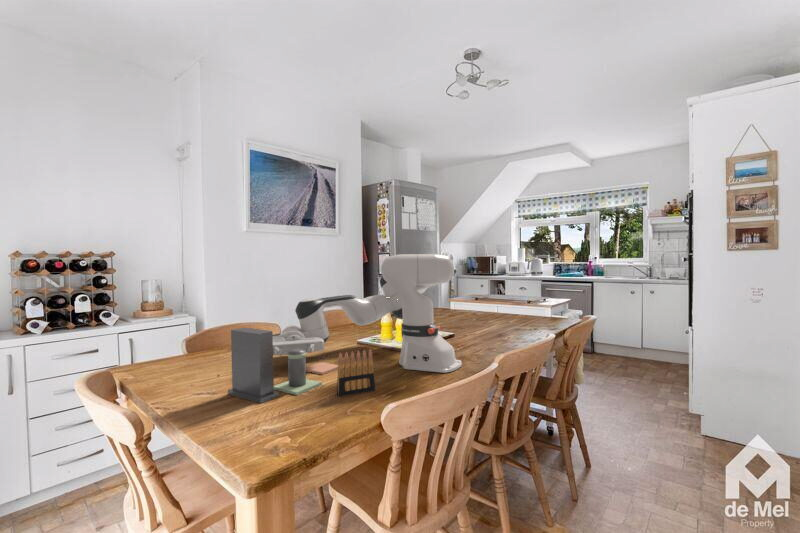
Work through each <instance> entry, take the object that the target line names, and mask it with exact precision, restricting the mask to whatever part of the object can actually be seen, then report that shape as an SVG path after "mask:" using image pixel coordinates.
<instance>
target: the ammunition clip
mask: <svg viewBox="0 0 800 533" xmlns="http://www.w3.org/2000/svg"><path fill="white" fill-rule="evenodd" d="M350 352H351V353H350V357H349V354H348V352H347V351H346V352H345V354H344V358H343V355H342V353H341V352H339V354H338V359H337V360H338V361H337V362H338V363H337V365H338V369H337V380H336V381H337V382H336V383H337V384H336V395H337V396H338V397H345V396H350V395H356V394H357V395H358V394H362V393H368V392H369V393H370V392H375V391H376V389H375V387H376V386H375V373H374V361H373V359H374V358H373V352H372V349H371V348H369V349H368V354H367V352H366V349H363V351H362V354H361V353H360V350H357V352H356V355H355V353H354V351H353V350H352V351H350ZM361 355H362V356H361ZM355 356H356V358H355ZM361 357H362V358H361ZM349 358H350V359H349ZM343 359H344V362H343ZM361 360H362V361H361ZM349 361H350V362H349Z"/></svg>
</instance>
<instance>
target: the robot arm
mask: <svg viewBox="0 0 800 533" xmlns="http://www.w3.org/2000/svg"><path fill="white" fill-rule="evenodd" d="M454 272H455V267H454V263H453V261H452V260H451V258H450V257H449V256H447V255H443V254H439V253H438V254H437V253H418V254H417V253H405V254H404V253H402V254H394V255H389V256H387V257H385V259H384V260H383V262H382V264H381V266H380V273H381V277H380V279H379V284H380V288H382V291H383V294H375V295H370V296H366V297H364V298H357V297H356V295H353V294H345V295H335V296H329V297H328V296H327V297H321V298H314V297H313V298H312V297H310V298H304V299H302V300H300V301H299V302H298V303H297V306H296V307H295V310H294V312H295V313H296V317H297V319H298V322H299V326H298V325H296V324H291V325H287V326H286V327H284V329H282V331H281V332H280V333H276V334H272V335H273V356H283V355H284V356H288V351H289V350H292V349H305V352H306V353H307V354H309V353H311V354H312V353H314V352H322V351H324V350H325V344H326V342H327V341H328V340H329V339H330V332H329V328H328V324H327V322H326V317H325V314H324V310H325V309H327V308H331V307H340V308H341V309H342V310H343V311H344V312H345V314H346V315H347V318H348V319H349V320H350V321H351V322H352V323H354V324H355V325H358V326H360V327H363V326H367V325H370V324H372V323H375V322H377V321H378V320H381V319H382V318H385V316H387V315H388V314H390V313H391V315H390V317H392V318H393V317H394V318H396V319H399V320H402V322H401V328H400V329H401V331H400V332H401V338H402V340H401V348H400V356H399V360H398V364H399V365H400V366H401V367H402V369H404V370H409V371H410V370H412V371H413V370H414V371H421V372H432V373H433V372H435V373H443V374H445V373H450V372H454V371H457V370H458V369H460V367H462V365H463V364H462V363H463V361H462V360H461V359H456V354H455V349H454V346H452V345H451V344H450V343H449V342H448V341H447V340H446V339H444V338H443V336H441V335H440V334H439V330H441V328H440V327H441V325H438V326H437V325H436V324H435V323H434V303H433V300H432V299H431V298H430V297H429V296H428V295H427V296H426V295H424V293H425V292H426V291H427V289H428V288H431V287H434V286H437V285H440V284H446V283H449V282H450V281H451V280H452V279H453V276H454ZM386 297H390V298H386ZM397 299H398V300H397Z"/></svg>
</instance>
